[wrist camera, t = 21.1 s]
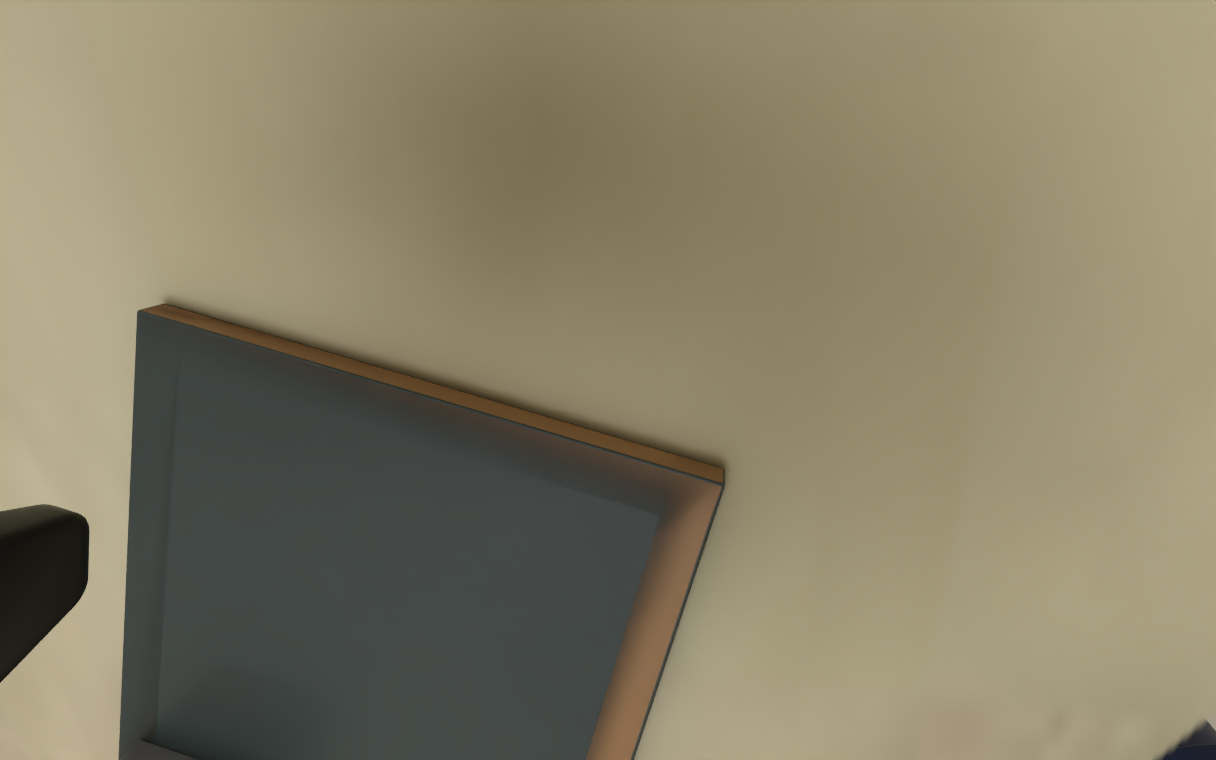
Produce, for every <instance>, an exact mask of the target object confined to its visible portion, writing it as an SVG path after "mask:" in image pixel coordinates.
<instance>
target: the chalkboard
mask: <svg viewBox="0 0 1216 760" xmlns="http://www.w3.org/2000/svg"><path fill="white" fill-rule="evenodd" d="M724 487H725V470H724V469H722V468H718V467H715V466H712V465H708V464H705V463H701V462H698V461H695V460H691V459H688V458H685V457H681V456H678V455H674V454H671V453H668V452H664V451H661V450H657V449H654V448H651V447H647V446H644V445H641V444H637V443H634V442H630V441H627V440H624V439H620V438H617V437H613V436H610V435H607V434H603V433H600V432H597V431H593V430H590V429H586V428H583V427H580V426H576V425H573V424H569V423H566V422H563V421H559V420H556V419H553V418H549V417H546V416H542V415H539V414H536V413H532V412H529V411H525V410H522V409H519V408H515V407H512V406H509V405H505V404H502V403H498V402H495V401H492V400H488V399H485V398H482V397H478V396H475V395H471V394H468V393H465V392H461V391H458V390H454V389H451V388H448V387H444V386H441V385H438V384H434V383H431V382H427V381H424V380H421V379H417V378H414V377H410V376H407V375H404V374H400V373H397V372H394V371H390V370H387V369H383V368H380V367H377V366H373V365H370V364H366V363H363V362H360V361H356V360H353V359H350V358H346V357H343V356H339V355H336V354H333V353H329V352H326V351H322V350H319V349H316V348H312V347H309V346H306V345H302V344H299V343H295V342H292V341H289V340H285V339H282V338H278V337H275V336H272V335H268V334H265V333H262V332H258V331H255V330H251V329H248V328H245V327H241V326H238V325H234V324H231V323H228V322H224V321H221V320H218V319H214V318H211V317H207V316H204V315H201V314H197V313H194V312H190V311H187V310H184V309H180V308H177V307H174V306H170V305H167V304H161V305H157V306H153V307H149V308H145V309H142V310H138V312H137V333H136V357H135V381H134V405H133V429H132V453H131V477H130V500H129V524H128V548H127V572H126V596H125V620H124V644H123V668H122V692H121V716H120V740H119V760H120V759H121V758H122V757H123V756H124V755H125V754H126V753H127V752H128V751H129V750H130V749H131V748H132V747H133V746H134V745H135V744H136V743H137V742H138V741H139V740H144V741H146V742H149V743H152V744H155V745H158V746H161V747H164V748H167V749H170V750H173V751H176V752H178V753H181V754H184V755H187V756H190V757H193V758H196V759H199V760H634V757H635V754H636V751H637V748H638V745H639V742H640V739H641V736H642V733H643V730H644V727H645V724H646V721H647V718H648V715H649V712H650V709H651V706H652V703H653V700H654V697H655V694H656V691H657V688H658V685H659V682H660V679H661V676H662V673H663V670H664V667H665V664H666V661H667V658H668V655H669V652H670V649H671V646H672V643H673V640H674V637H675V634H676V631H677V628H678V625H679V622H680V619H681V616H682V613H683V610H684V607H685V604H686V601H687V598H688V595H689V592H690V589H691V586H692V583H693V580H694V577H695V574H696V571H697V568H698V565H699V562H700V559H701V556H702V553H703V550H704V547H705V544H706V541H707V538H708V535H709V532H710V529H711V526H712V523H713V520H714V517H715V514H716V511H717V508H718V505H719V502H720V499H721V496H722V493H723V490H724Z"/></svg>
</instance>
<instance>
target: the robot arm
mask: <svg viewBox="0 0 1216 760" xmlns="http://www.w3.org/2000/svg"><path fill="white" fill-rule="evenodd" d="M88 560H89V525H88V523H87V520H86V519H85V517H83V516H82V515H80V514H78V513H75V512H72V511H69V510H66V509H63V508H60V507H57V506H53V505H46V504H43V505H35V506H29V507H24V508H18V509H12V510H6V511H0V682H1V681H2V680H3V679H4V678H5V677H6V676H7V675H8V674H9V673H10V672H11V671H12V670H13V669H14V668H15V667H16V666H17V665H18V664H19V663H20V662H21V661H22V660H23V659H24V658H25V657H26V656H27V655H28V654H29V652H30V651H31V650H32V649H33V648H34V647H35V646H36V645H37V644H38V643H39V642H40V641H41V640H42V639H43V638H44V637H45V636H46V635H47V634H48V633H49V632H50V631H51V630H52V629H53V628H54V627H55V626H56V625H57V624H58V623H59V621H60V620H61V619H62V618H63V617H64V616H65V615H66V614H67V613H68V612H69V611H70V610H71V609H72V608H73V607H74V606H75V605H76V603H77V602H78V601H79V599H80V598H81V596H82V595H83V593H84V591H85V589H86V585H87V582H88Z"/></svg>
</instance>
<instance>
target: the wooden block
mask: <svg viewBox="0 0 1216 760" xmlns="http://www.w3.org/2000/svg"><path fill="white" fill-rule="evenodd" d="M120 760H199V759H196V758H193V757H190V756H187V755H184V754H181V753H178V752H176V751H173V750H170V749H167V748H164V747H161V746H158V745H155V744H152V743H149V742H146V741H144V740H139V741H138V742H137V743H136V744H135V745H134V746H133V747H132V748H131V749H130V750H129V751H128V752H127V753H126V754H125V755H124V756H123V757H122V758H121V759H120Z"/></svg>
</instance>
